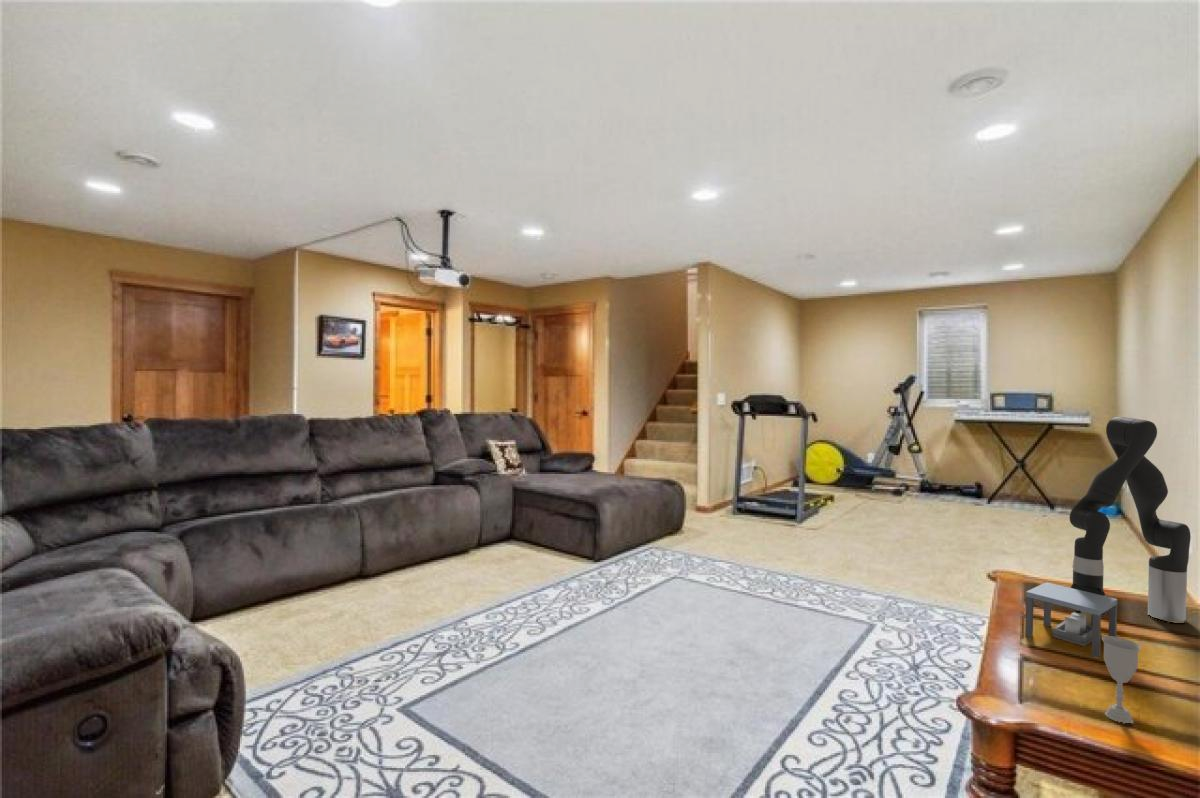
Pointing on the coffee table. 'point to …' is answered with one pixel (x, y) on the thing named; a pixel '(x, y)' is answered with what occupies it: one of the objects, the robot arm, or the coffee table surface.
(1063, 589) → the grey side table
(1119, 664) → the chalice
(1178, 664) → the coffee table surface
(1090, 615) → the tray
